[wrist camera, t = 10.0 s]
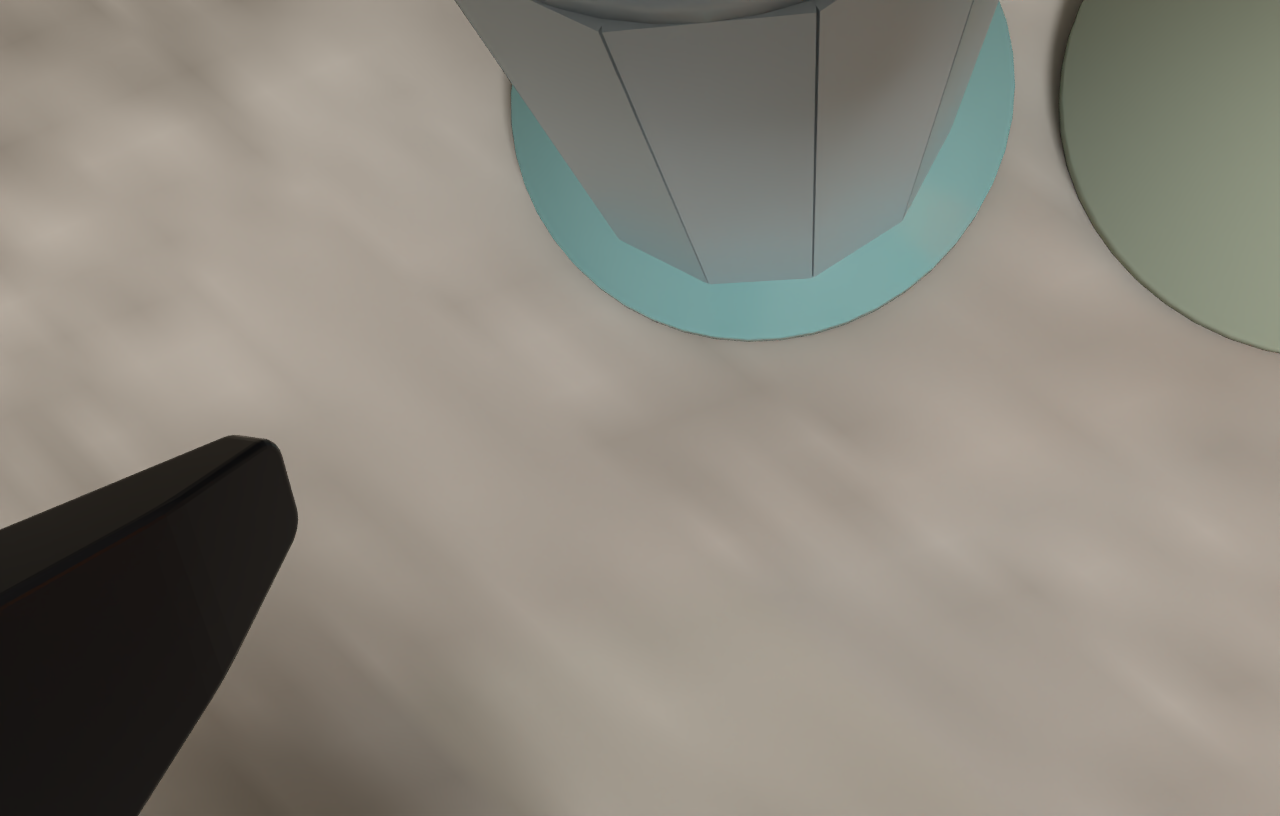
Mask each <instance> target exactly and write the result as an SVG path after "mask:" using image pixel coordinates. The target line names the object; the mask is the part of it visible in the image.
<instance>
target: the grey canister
mask: <svg viewBox="0 0 1280 816" xmlns="http://www.w3.org/2000/svg"><path fill="white" fill-rule="evenodd" d="M455 1H456V3H457V4H458V6H459V7H460V9H461V10H462V12H463V13H464V15H465V16H466V17H467V19H468V20H469V22H470V23H471V25H472V26H473V28H474V29H475V31H476V32H477V33H478V35H479V36H480V38H481V39H482V41H483V42H484V44H485V45H486V47H487V48H488V49H489V51H490V52H491V54H492V55H493V57H494V58H495V60H496V61H497V63H498V64H499V65H500V67H501V68H502V70H503V71H504V73H505V74H506V76H507V77H508V79H509V80H510V81H511V83H512V84H513V86H514V87H515V89H516V90H517V92H518V93H519V95H520V96H521V98H522V99H523V100H524V102H525V103H526V105H527V106H528V108H529V109H530V111H531V112H532V114H533V115H534V116H535V118H536V119H537V121H538V122H539V124H540V125H541V127H542V128H543V130H544V131H545V132H546V134H547V135H548V137H549V138H550V140H551V141H552V143H553V144H554V146H555V147H556V148H557V150H558V151H559V153H560V154H561V156H562V157H563V159H564V160H565V162H566V163H567V164H568V166H569V167H570V169H571V170H572V172H573V173H574V175H575V176H576V178H577V179H578V181H579V182H580V183H581V185H582V186H583V188H584V189H585V191H586V192H587V194H588V195H589V197H590V198H591V199H592V201H593V202H594V204H595V205H596V207H597V208H598V210H599V211H600V213H601V214H602V215H603V217H604V218H605V220H606V221H607V223H608V224H609V226H610V227H611V229H612V230H613V231H614V233H615V234H616V236H617V237H618V239H619V240H621V241H623V242H625V243H627V244H629V245H631V246H633V247H635V248H637V249H639V250H641V251H643V252H645V253H647V254H649V255H651V256H653V257H655V258H657V259H659V260H661V261H663V262H665V263H667V264H669V265H671V266H673V267H675V268H677V269H679V270H681V271H683V272H685V273H687V274H689V275H691V276H693V277H695V278H697V279H699V280H701V281H703V282H705V283H707V284H708V282H709V284H723V283H740V282H757V281H774V280H790V279H807V278H812V276H813V278H814V277H815V276H817V275H819V274H820V273H822V272H823V271H825V270H826V269H828V268H830V267H831V266H833V265H834V264H836V263H837V262H839V261H840V260H842V259H844V258H845V257H847V256H848V255H850V254H851V253H853V252H855V251H856V250H858V249H859V248H861V247H862V246H864V245H866V244H867V243H869V242H870V241H872V240H873V239H875V238H877V237H878V236H880V235H881V234H883V233H884V232H886V231H888V230H889V229H891V228H892V227H894V226H895V225H897V224H899V223H900V222H902V220H903V219H904V217H905V215H906V213H907V212H908V210H909V208H910V206H911V204H912V202H913V200H914V198H915V196H916V195H917V193H918V191H919V189H920V187H921V185H922V183H923V181H924V179H925V177H926V176H927V174H928V172H929V170H930V168H931V166H932V164H933V162H934V160H935V159H936V157H937V155H938V153H939V151H940V149H941V147H942V145H943V143H944V142H945V140H946V138H947V136H948V134H949V132H950V130H951V128H952V125H953V122H954V120H955V117H956V114H957V112H958V109H959V106H960V104H961V101H962V98H963V96H964V93H965V90H966V88H967V85H968V82H969V79H970V77H971V74H972V71H973V69H974V66H975V63H976V61H977V58H978V55H979V53H980V50H981V47H982V45H983V42H984V39H985V36H986V34H987V31H988V28H989V26H990V23H991V20H992V18H993V15H994V12H995V10H996V7H997V4H998V2H999V0H455Z"/></svg>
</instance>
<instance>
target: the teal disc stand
mask: <svg viewBox="0 0 1280 816" xmlns="http://www.w3.org/2000/svg"><path fill="white" fill-rule="evenodd" d="M1014 90H1015V80H1014V63H1013V51H1012V46H1011V41H1010V36H1009V31H1008V26H1007V22H1006V18H1005V16H1004V13H1003V10H1002V7H1001V4H1000V2H998V4H997V7H996V10H995V12H994V15H993V18H992V20H991V23H990V26H989V28H988V31H987V34H986V36H985V39H984V42H983V45H982V47H981V50H980V53H979V55H978V58H977V61H976V63H975V66H974V69H973V71H972V74H971V77H970V79H969V82H968V85H967V88H966V90H965V93H964V96H963V98H962V101H961V104H960V106H959V109H958V112H957V114H956V117H955V120H954V122H953V125H952V128H951V130H950V132H949V134H948V136H947V138H946V140H945V142H944V143H943V145H942V147H941V149H940V151H939V153H938V155H937V157H936V159H935V160H934V162H933V164H932V166H931V168H930V170H929V172H928V174H927V176H926V177H925V179H924V181H923V183H922V185H921V187H920V189H919V191H918V193H917V195H916V196H915V198H914V200H913V202H912V204H911V206H910V208H909V210H908V212H907V213H906V215H905V217H904V219H903V220H902V222H900V223H899V224H897V225H895V226H894V227H892V228H891V229H889V230H888V231H886V232H884V233H883V234H881V235H880V236H878V237H877V238H875V239H873V240H872V241H870V242H869V243H867V244H866V245H864V246H862V247H861V248H859V249H858V250H856V251H855V252H853V253H851V254H850V255H848V256H847V257H845V258H844V259H842V260H840V261H839V262H837V263H836V264H834V265H833V266H831V267H830V268H828V269H826V270H825V271H823V272H822V273H820V274H819V275H817V276H815V277H814V278H813V276H812V278H807V279H790V280H774V281H757V282H740V283H723V284H709V282H708V284H707V283H705V282H703V281H701V280H699V279H697V278H695V277H693V276H691V275H689V274H687V273H685V272H683V271H681V270H679V269H677V268H675V267H673V266H671V265H669V264H667V263H665V262H663V261H661V260H659V259H657V258H655V257H653V256H651V255H649V254H647V253H645V252H643V251H641V250H639V249H637V248H635V247H633V246H631V245H629V244H627V243H625V242H623V241H621V240H619V239H618V237H617V236H616V234H615V233H614V231H613V230H612V229H611V227H610V226H609V224H608V223H607V221H606V220H605V218H604V217H603V215H602V214H601V213H600V211H599V210H598V208H597V207H596V205H595V204H594V202H593V201H592V199H591V198H590V197H589V195H588V194H587V192H586V191H585V189H584V188H583V186H582V185H581V183H580V182H579V181H578V179H577V178H576V176H575V175H574V173H573V172H572V170H571V169H570V167H569V166H568V164H567V163H566V162H565V160H564V159H563V157H562V156H561V154H560V153H559V151H558V150H557V148H556V147H555V146H554V144H553V143H552V141H551V140H550V138H549V137H548V135H547V134H546V132H545V131H544V130H543V128H542V127H541V125H540V124H539V122H538V121H537V119H536V118H535V116H534V115H533V114H532V112H531V111H530V109H529V108H528V106H527V105H526V103H525V102H524V100H523V99H522V98H521V96H520V95H519V93H518V92H517V90H516V89H515V87H514V86H513V84H512V90H511V117H512V131H513V137H514V144H515V151H516V156H517V160H518V163H519V166H520V170H521V173H522V177H523V180H524V184H525V186H526V189H527V191H528V193H529V195H530V198H531V200H532V202H533V204H534V207H535V209H536V211H537V213H538V215H539V216H540V218H541V220H542V221H543V223H544V224H545V226H546V228H547V229H548V231H549V233H550V234H551V236H552V237H553V239H554V240H555V241H556V243H557V244H558V245H559V246H560V248H561V249H562V250H563V251H564V252H565V254H566V255H567V256H568V257H569V258H570V260H571V261H572V262H573V263H574V264H575V265H576V266H577V268H578V269H579V270H581V271H582V272H583V273H584V274H585V275H586V276H587V277H588V278H589V279H590V280H591V281H592V282H594V283H595V284H596V285H597V286H598V287H599V288H600V289H601V290H603V291H604V292H606V293H607V294H608V295H610V296H611V297H613V298H614V299H616V300H617V301H618V302H620V303H621V304H623V305H624V306H626V307H627V308H629V309H631V310H633V311H635V312H637V313H639V314H641V315H643V316H645V317H647V318H649V319H650V320H652V321H654V322H657V323H660V324H663V325H665V326H668V327H671V328H674V329H677V330H679V331H682V332H685V333H690V334H695V335H699V336H704V337H709V338H713V339H721V340H734V341H746V342H753V341H773V340H785V339H790V338H796V337H802V336H807V335H813V334H817V333H820V332H823V331H826V330H829V329H833V328H836V327H839V326H842V325H845V324H848V323H850V322H852V321H854V320H856V319H859V318H861V317H863V316H865V315H867V314H869V313H872V312H874V311H876V310H878V309H879V308H881V307H882V306H884V305H886V304H887V303H889V302H890V301H892V300H894V299H895V298H897V297H898V296H900V295H902V294H903V293H905V292H906V291H907V290H909V289H910V288H911V287H912V286H913V285H915V284H916V283H917V282H918V281H919V280H921V279H922V278H923V277H924V276H926V275H927V274H928V273H929V272H930V271H932V269H933V268H934V267H935V266H936V265H937V264H938V263H939V262H940V261H941V260H942V259H943V258H944V257H945V256H946V254H947V253H948V252H949V251H950V250H951V249H952V248H953V247H954V246H955V244H956V243H957V242H958V240H959V239H960V237H961V236H962V235H963V233H964V232H965V230H966V229H967V228H968V226H969V225H970V223H971V222H972V221H973V219H974V218H975V216H976V214H977V212H978V210H979V209H980V207H981V205H982V203H983V201H984V199H985V197H986V195H987V193H988V192H989V190H990V188H991V186H992V184H993V182H994V179H995V177H996V174H997V171H998V169H999V166H1000V163H1001V160H1002V158H1003V155H1004V152H1005V149H1006V144H1007V140H1008V135H1009V131H1010V126H1011V122H1012V115H1013V102H1014Z"/></svg>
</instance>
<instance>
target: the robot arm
mask: <svg viewBox="0 0 1280 816" xmlns="http://www.w3.org/2000/svg"><path fill="white" fill-rule="evenodd" d="M297 525H298V513H297V508H296V504H295V500H294V497H293V493H292V490H291V486H290V482H289V479H288V475H287V472H286V468H285V464H284V461H283V457H282V454H281V452H280V450H279V448H278V447H277V446H276V444H275V443H273V442H272V441H270V440H267V439H262V438H255V437H247V436H240V435H231V436H226V437H223V438H221V439H218V440H216V441H214V442H211V443H209V444H206V445H204V446H201V447H199V448H197V449H194V450H192V451H189V452H187V453H184V454H182V455H180V456H177V457H175V458H172V459H170V460H168V461H165V462H163V463H160V464H158V465H155V466H153V467H151V468H148V469H146V470H143V471H141V472H139V473H136V474H134V475H131V476H129V477H126V478H124V479H122V480H119V481H117V482H114V483H112V484H109V485H107V486H105V487H102V488H100V489H97V490H95V491H93V492H90V493H88V494H85V495H83V496H80V497H78V498H76V499H73V500H71V501H68V502H66V503H64V504H61V505H59V506H56V507H54V508H51V509H49V510H47V511H44V512H42V513H39V514H37V515H34V516H32V517H30V518H27V519H25V520H22V521H20V522H18V523H15V524H13V525H10V526H8V527H5V528H3V529H1V530H0V816H138V815H139V813H140V812H141V810H142V809H143V807H144V805H145V804H146V802H147V801H148V799H149V798H150V796H151V794H152V793H153V791H154V790H155V788H156V786H157V785H158V783H159V782H160V780H161V779H162V777H163V775H164V774H165V772H166V771H167V769H168V767H169V766H170V764H171V763H172V761H173V760H174V758H175V756H176V755H177V753H178V752H179V750H180V749H181V747H182V745H183V744H184V742H185V741H186V739H187V737H188V736H189V734H190V733H191V731H192V730H193V728H194V726H195V725H196V723H197V722H198V720H199V718H200V717H201V715H202V714H203V712H204V711H205V709H206V707H207V706H208V704H209V703H210V701H211V699H212V698H213V696H214V694H215V693H216V691H217V689H218V688H219V686H220V684H221V683H222V681H223V679H224V678H225V676H226V674H227V672H228V670H229V668H230V666H231V664H232V663H233V661H234V659H235V657H236V655H237V653H238V651H239V649H240V647H241V645H242V643H243V641H244V639H245V637H246V635H247V633H248V631H249V629H250V627H251V625H252V623H253V621H254V619H255V617H256V615H257V613H258V611H259V609H260V607H261V605H262V603H263V601H264V599H265V597H266V595H267V593H268V591H269V589H270V587H271V585H272V583H273V581H274V579H275V577H276V575H277V573H278V571H279V569H280V567H281V565H282V563H283V561H284V559H285V557H286V555H287V553H288V551H289V549H290V547H291V545H292V543H293V540H294V538H295V534H296V531H297Z"/></svg>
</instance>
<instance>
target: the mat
mask: <svg viewBox="0 0 1280 816" xmlns="http://www.w3.org/2000/svg"><path fill="white" fill-rule="evenodd" d="M1059 113H1060V128H1061V138H1062V143H1063V147H1064V152H1065V157H1066V162H1067V167H1068V170H1069V172H1070V175H1071V178H1072V181H1073V184H1074V186H1075V189H1076V192H1077V195H1078V198H1079V200H1080V202H1081V204H1082V205H1083V207H1084V209H1085V211H1086V213H1087V215H1088V217H1089V219H1090V221H1091V223H1092V225H1093V226H1094V228H1095V230H1096V231H1097V233H1098V234H1099V235H1100V237H1101V238H1102V240H1103V241H1104V242H1105V244H1106V245H1107V247H1108V248H1109V249H1110V251H1111V252H1112V254H1113V255H1114V256H1115V257H1116V258H1117V260H1118V261H1119V262H1120V263H1121V264H1122V265H1123V266H1124V267H1125V268H1126V269H1127V270H1128V271H1129V272H1130V273H1131V275H1132V276H1133V277H1134V278H1135V279H1136V280H1137V281H1138V282H1139V283H1140V284H1142V285H1143V286H1144V287H1145V288H1147V289H1148V290H1149V291H1150V292H1151V293H1153V294H1154V295H1155V296H1156V297H1157V298H1159V299H1160V300H1161V301H1162V302H1163V303H1165V304H1166V305H1168V306H1169V307H1171V308H1172V309H1174V310H1176V311H1177V312H1179V313H1180V314H1182V315H1184V316H1185V317H1187V318H1188V319H1190V320H1191V321H1193V322H1195V323H1196V324H1199V325H1201V326H1203V327H1205V328H1207V329H1209V330H1211V331H1213V332H1216V333H1218V334H1220V335H1222V336H1224V337H1226V338H1228V339H1231V340H1234V341H1237V342H1240V343H1243V344H1246V345H1249V346H1252V347H1256V348H1259V349H1262V350H1265V351H1270V352H1275V353H1280V0H1084V1H1083V2H1082V4H1081V6H1080V8H1079V11H1078V13H1077V16H1076V19H1075V22H1074V24H1073V27H1072V30H1071V33H1070V35H1069V38H1068V42H1067V47H1066V51H1065V56H1064V60H1063V65H1062V69H1061V81H1060V94H1059Z"/></svg>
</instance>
